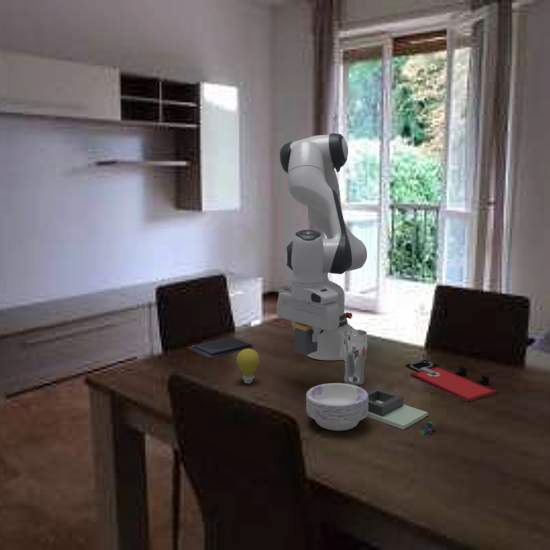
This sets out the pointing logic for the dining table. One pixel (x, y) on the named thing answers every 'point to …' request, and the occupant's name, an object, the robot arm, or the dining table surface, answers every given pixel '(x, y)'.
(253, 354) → the light bulb
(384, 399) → the board
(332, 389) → the paper bowls
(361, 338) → the beer glass
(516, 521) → the dining table surface
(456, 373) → the red board with handle
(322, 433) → the dining table surface
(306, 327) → the plug
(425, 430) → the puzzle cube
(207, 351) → the wallet
